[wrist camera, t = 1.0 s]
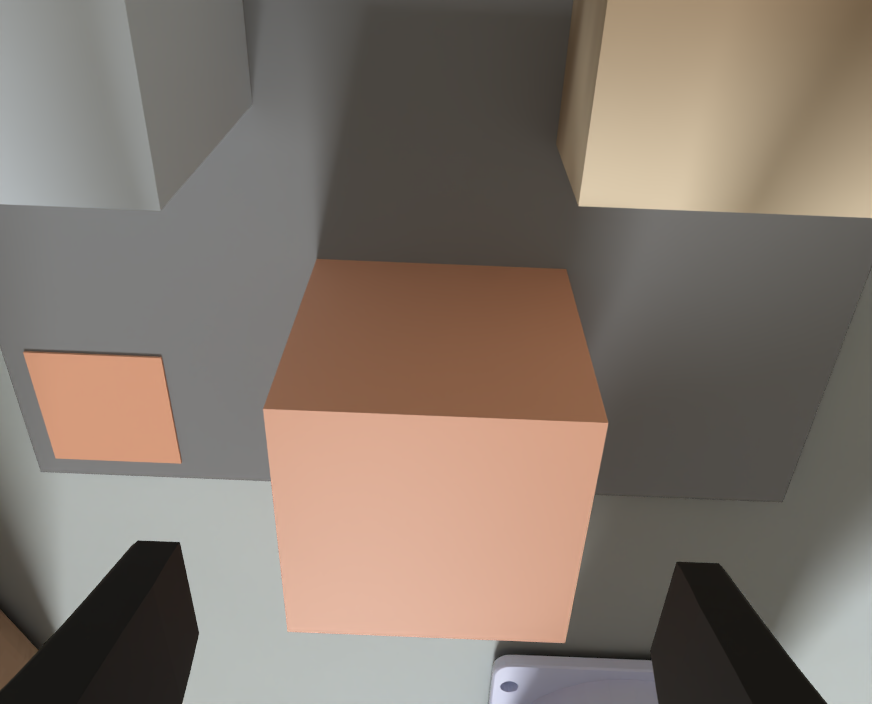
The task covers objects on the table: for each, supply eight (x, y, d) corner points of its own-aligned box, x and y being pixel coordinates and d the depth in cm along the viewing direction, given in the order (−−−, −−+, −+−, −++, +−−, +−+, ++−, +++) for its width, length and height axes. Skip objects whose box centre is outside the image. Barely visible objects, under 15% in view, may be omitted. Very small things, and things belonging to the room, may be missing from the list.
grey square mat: (776, 490, 19) (783, 503, 18) (48, 460, 19) (39, 473, 18) (1104, -400, 10) (1131, -412, 10) (-239, -453, 10) (-266, -467, 10)
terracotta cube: (539, 460, 18) (565, 643, 14) (327, 451, 18) (287, 631, 14) (566, 268, 15) (608, 423, 11) (316, 259, 15) (263, 408, 11)
